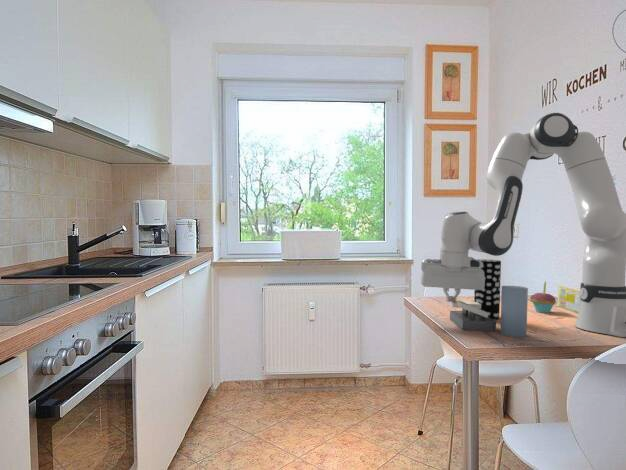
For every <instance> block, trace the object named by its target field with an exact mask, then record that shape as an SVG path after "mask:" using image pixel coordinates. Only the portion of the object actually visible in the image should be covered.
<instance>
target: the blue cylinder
mask: <svg viewBox="0 0 626 470" xmlns="http://www.w3.org/2000/svg"><path fill="white" fill-rule="evenodd" d="M528 294H529V288H528V287H525V286H519V285H501V293H500V334H501V335H503V336H506V335H507V336H506V337H510V336H512V337H511V338H525V337H527V331H528V330H527V328H528V325H527V324H528V301H529V300H528V297H529V296H528Z"/></svg>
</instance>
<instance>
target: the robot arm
mask: <svg viewBox="0 0 626 470" xmlns="http://www.w3.org/2000/svg"><path fill="white" fill-rule="evenodd" d="M600 145H601V144H600V143H599V142H598V140H597V139H596V137H595V135H594V134H593V133H591V132H589V131H579V127H577V125H576V124H574V123H573V121H572V120H571V119H570V118H569V117H568V116H567V115H566V114H564V113H561V112H551V113H549V114H545V115H544V116H542V117H541V118H539V119H538V120H537V122H536V123H535V124H534V125H533V126H532V127H531V129H530V130H529V132H527V133H521V132H510V133H508V134H505V135H504V136H503V137H502V139H501V140H500V142H499V144H498V145H497V147H496V149H495V150H494V152H493V154H492V157H491V159H490V162H489V164H488V168H487V171H486V180H487V183H488V185H489V186H490V187H491V188H492V189H494V190H496V191H497V193H498V199H497V205H496V207H495V211H494V215H493V218H492V220H491V221H490V222H489V223H485V222H482V221H480V220H477V219H475V218H474V217H473V216H472V215H470V213H469V212H467V211H455V212H450V213H447V214H446V215H445V216H444V218H443V221H442V227H441V235H440V236H441V237H440V238H441V247H440V251H439V252H440V253H439V259H436V258H435V259H432V258H426V259H425V260H423V261H422V262H421V275H420V276H421V277H420V284H421V285H422V286H423V287H425V288H437V289H438V288H440V289H441V288H442V290H443V293H444V295H445V302H448V303H450V302H456V300H457V298H458V297H459V295H460V294H461V290H471V291H474V290H482V289H483V288H484V287H485V276H484V271H483V270H482V269H481V268H482V267H483V262H481V261H479V260H478V259H476V258H474V257H472V256H469V252H470V250H471V251H475V252H479V253H485V254H487V255H490V256H495V257H498V256H502V255H505V254H506V253H507V252H508V251H509V250H510V249H511V248H512V245H513V243H514V228H515V222H516V218H517V214H518V212H519V207H520V203H521V199H522V195H523V189H524V187H523V186H524V185H523V182H522V181H523V176H524V173H525V170H526V168H527V165H528V162H529V160H536V161H539V160H540V161H542V160H546V159H548V158H551V157H552V156H553V155H554V154H555V155H557V156H558V157H559V158H560V159H561V161H562V162H563V166H564V169H565V171H566V172H565V173H566V175H567V178H568V181H569V184H570V188H571V190H572V193H573V197H574V202H575V206H576V211H577V214H578V218H579V221H580V226H581V228H582V231H583V233H584V234H585V235H586V237H585V238H586V239H585V245H584V252H583V258H582V277H581V279H582V281H581V282H580V288H579V291H580V299H581V304H580V309H579V313H577V314H578V315H577V318H576V319H575V320H576V321H575V323H574V326H575V327H577V328H579V329H580V330H584V331H588V332H592V333H598V334H604V335H609V336H614V337H620V338H626V213H625V212H624V211H623V208H622V205H621V202H620V199H619V196H618V195H619V194H618V192H617V189H616V185H615V181H614V178H613V175H612V173H611V170H610V167H609V166H608V161H607V159H606V158H607V157H606V156H605V154H604V151H603V149H602V147H601V146H600ZM450 289H454V293H453V295H450V294H449V291H450Z"/></svg>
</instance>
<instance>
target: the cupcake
mask: <svg viewBox="0 0 626 470" xmlns="http://www.w3.org/2000/svg"><path fill="white" fill-rule="evenodd" d="M546 286H547V282H546V280H545V281H544V283H543V291H542V292H536V293H534V294H532V295H530V297H529V298H530V299H529V300H530V302H531V303H532V304H533V306H534V310H535V312H537V313H541V314H549V313H551V311H552V308H553V306H554V305H555V304H557V303H556V302H557V301H556V298H555V297H554V296H553V295H552V294H550V293H547V292H546Z"/></svg>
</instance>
